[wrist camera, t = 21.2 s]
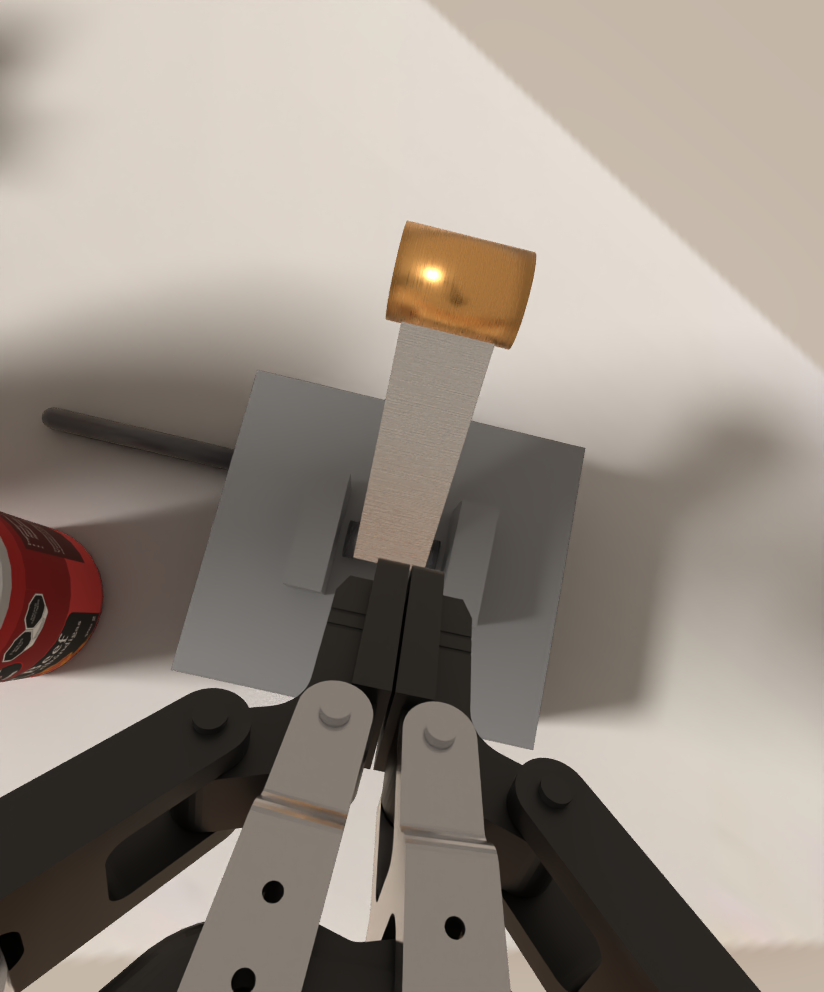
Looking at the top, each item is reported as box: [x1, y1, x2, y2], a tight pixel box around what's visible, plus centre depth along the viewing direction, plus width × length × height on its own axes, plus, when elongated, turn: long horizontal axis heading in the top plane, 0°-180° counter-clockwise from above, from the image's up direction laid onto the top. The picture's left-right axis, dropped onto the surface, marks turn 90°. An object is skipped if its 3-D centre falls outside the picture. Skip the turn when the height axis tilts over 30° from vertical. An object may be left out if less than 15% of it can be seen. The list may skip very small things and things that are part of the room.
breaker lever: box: [342, 221, 536, 572], centre depth 24 cm, size 4×3×14 cm
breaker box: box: [42, 370, 585, 750], centre depth 32 cm, size 29×14×11 cm, turn 77°
